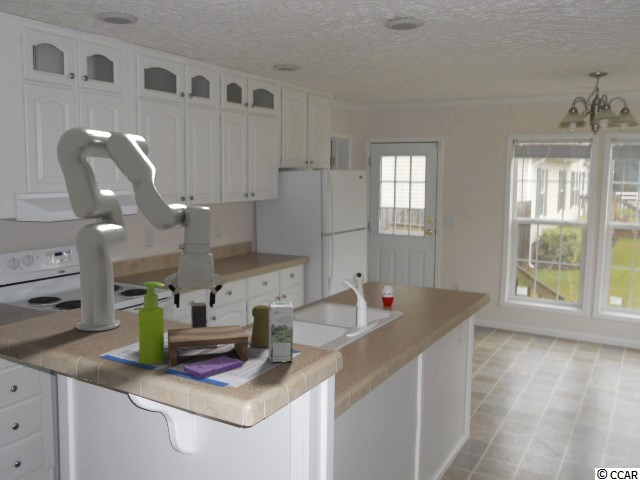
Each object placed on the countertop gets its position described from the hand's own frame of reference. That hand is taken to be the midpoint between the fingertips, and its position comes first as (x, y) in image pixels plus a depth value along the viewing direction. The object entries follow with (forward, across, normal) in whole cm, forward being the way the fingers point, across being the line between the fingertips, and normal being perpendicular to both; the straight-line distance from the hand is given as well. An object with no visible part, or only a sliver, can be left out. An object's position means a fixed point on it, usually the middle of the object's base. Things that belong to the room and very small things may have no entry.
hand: (194, 306), depth 166 cm
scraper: (+8, +1, -7) cm, 10 cm away
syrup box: (+7, +19, -30) cm, 36 cm away
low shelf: (+7, +2, -22) cm, 23 cm away
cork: (+7, +17, -16) cm, 24 cm away
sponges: (+8, +2, -32) cm, 33 cm away
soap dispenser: (+8, -12, -22) cm, 27 cm away
